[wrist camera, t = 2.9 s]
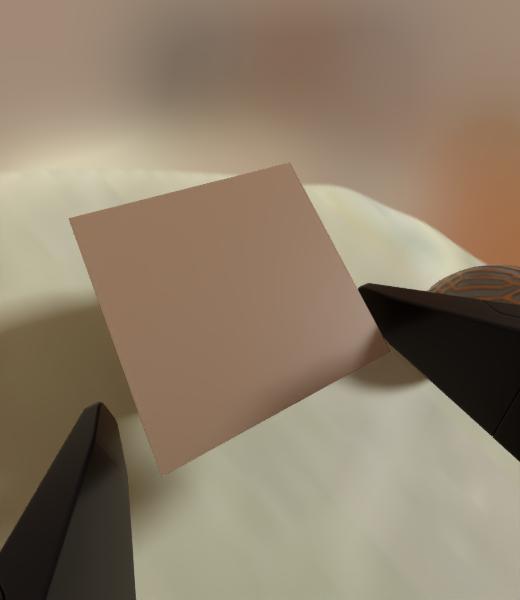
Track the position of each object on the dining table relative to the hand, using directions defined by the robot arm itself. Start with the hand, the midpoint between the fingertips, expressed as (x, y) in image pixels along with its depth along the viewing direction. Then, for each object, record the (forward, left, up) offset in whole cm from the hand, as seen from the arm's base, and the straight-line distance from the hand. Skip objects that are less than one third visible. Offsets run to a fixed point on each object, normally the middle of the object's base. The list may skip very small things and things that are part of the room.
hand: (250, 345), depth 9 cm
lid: (+1, +1, -3) cm, 4 cm away
